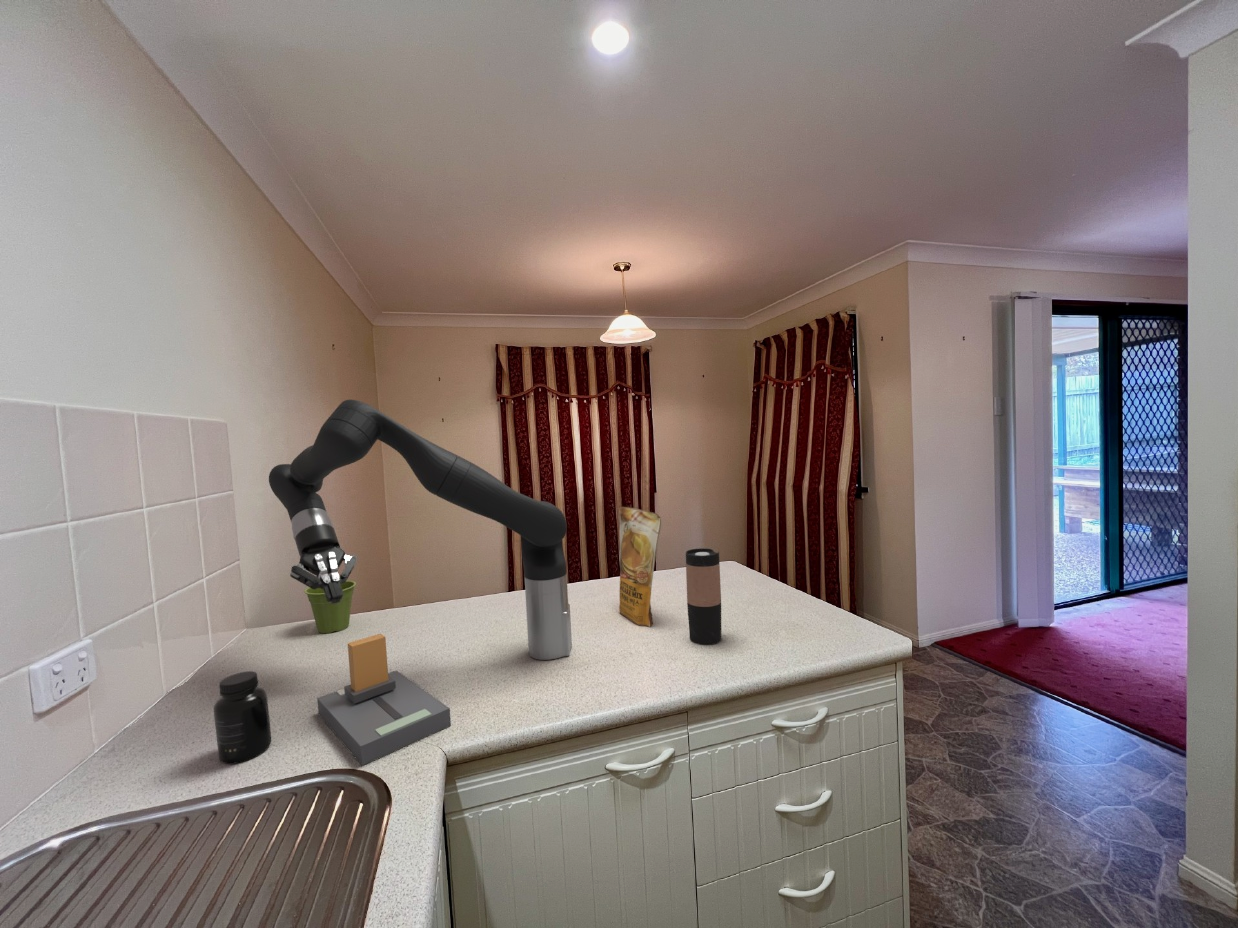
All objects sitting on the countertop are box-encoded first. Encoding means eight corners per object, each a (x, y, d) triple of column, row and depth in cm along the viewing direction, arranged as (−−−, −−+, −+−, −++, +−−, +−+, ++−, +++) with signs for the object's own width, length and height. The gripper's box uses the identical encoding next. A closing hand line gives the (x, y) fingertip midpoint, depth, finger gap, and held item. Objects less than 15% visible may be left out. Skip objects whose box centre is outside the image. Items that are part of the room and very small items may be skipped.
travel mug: (684, 643, 116) (681, 555, 115) (693, 630, 123) (689, 547, 122) (719, 647, 113) (715, 556, 112) (725, 634, 120) (722, 548, 119)
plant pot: (300, 640, 129) (297, 595, 128) (316, 623, 140) (313, 582, 140) (352, 633, 131) (349, 590, 131) (363, 618, 143) (361, 578, 142)
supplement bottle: (236, 740, 85) (230, 669, 84) (280, 737, 85) (274, 665, 85) (207, 767, 78) (200, 689, 77) (255, 763, 79) (248, 685, 78)
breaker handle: (344, 694, 92) (340, 642, 91) (385, 679, 97) (381, 630, 96) (354, 703, 88) (350, 649, 88) (395, 688, 93) (392, 637, 93)
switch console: (318, 714, 92) (317, 696, 92) (397, 685, 102) (396, 669, 102) (362, 765, 77) (360, 744, 76) (450, 725, 86) (449, 706, 86)
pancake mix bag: (633, 604, 144) (629, 504, 143) (668, 625, 127) (663, 512, 126) (611, 608, 141) (606, 507, 140) (644, 631, 124) (638, 515, 123)
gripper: (280, 527, 105) (301, 598, 97) (350, 518, 114) (374, 582, 106) (276, 550, 109) (296, 620, 101) (344, 539, 119) (367, 602, 110)
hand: (336, 600), depth 104 cm, fingers closed
